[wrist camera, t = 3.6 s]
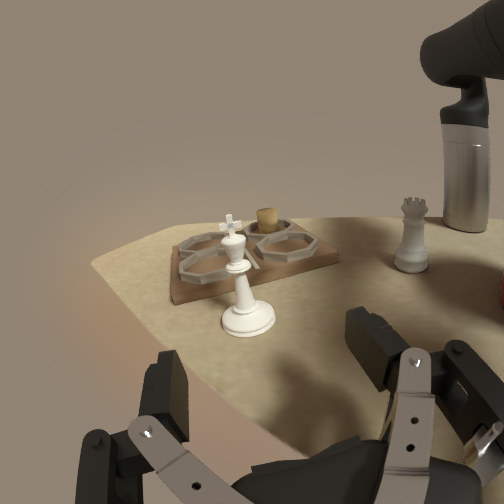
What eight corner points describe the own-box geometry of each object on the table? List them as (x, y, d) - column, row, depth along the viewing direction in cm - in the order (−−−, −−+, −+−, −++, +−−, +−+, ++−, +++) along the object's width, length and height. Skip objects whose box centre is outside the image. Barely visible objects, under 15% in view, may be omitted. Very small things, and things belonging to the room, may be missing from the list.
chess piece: (279, 332, 22) (264, 217, 19) (222, 341, 22) (193, 230, 18) (271, 301, 27) (256, 203, 23) (222, 310, 27) (200, 213, 23)
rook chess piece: (386, 267, 29) (388, 200, 26) (403, 254, 31) (405, 193, 28) (418, 279, 25) (425, 207, 22) (432, 264, 27) (438, 199, 24)
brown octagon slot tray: (290, 228, 47) (286, 200, 45) (338, 262, 32) (337, 223, 30) (175, 254, 43) (167, 226, 41) (174, 305, 29) (161, 264, 27)
